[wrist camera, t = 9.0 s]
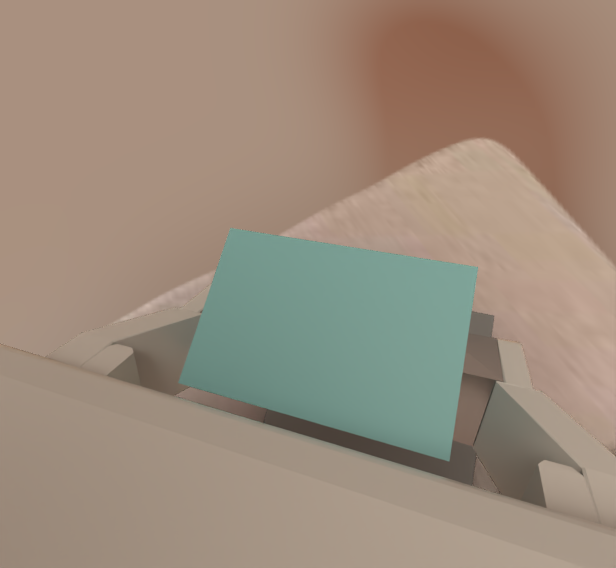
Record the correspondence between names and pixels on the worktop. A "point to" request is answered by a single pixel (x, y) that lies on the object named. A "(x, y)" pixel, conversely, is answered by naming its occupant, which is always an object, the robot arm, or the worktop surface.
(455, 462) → the mat
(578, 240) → the worktop surface
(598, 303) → the worktop surface
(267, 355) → the teal brick
